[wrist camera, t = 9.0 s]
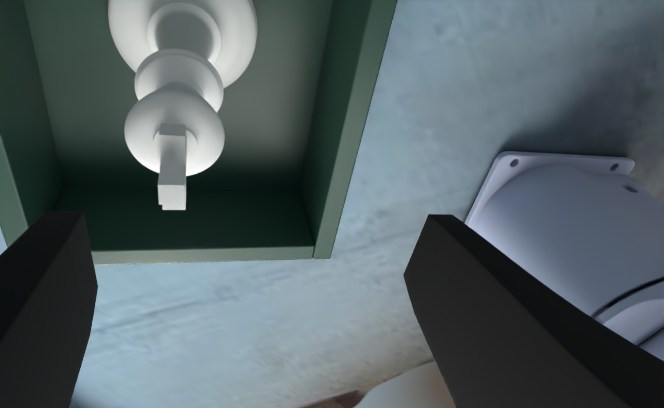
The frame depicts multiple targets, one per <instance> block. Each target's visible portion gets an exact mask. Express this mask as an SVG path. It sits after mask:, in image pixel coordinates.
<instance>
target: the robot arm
mask: <svg viewBox="0 0 664 408" xmlns="http://www.w3.org/2000/svg"><path fill="white" fill-rule="evenodd" d="M512 160H514V161H513V162H511V161H512ZM634 164H635V162H634V161H633V160H632V159H630V158H626V157H608V156H589V155H571V154H552V153H534V152H516V151H504V152H502V153H500V154H499V155H498V156H497V157H496V159H495V161H494V163H493V165H492V167H491V169H490V171H489V173H488V175H487V177H486V179H485V181H484V184H483V186H482V188H481V190H480V192H479V194H478V196H477V198H476V200H475V202H474V204H473V206H472V208H471V210H470V212H469V214H468V217H467V219H466V221H465V223H463V222H462V221H460V220H459V219H457V218H456V217H454V216H453V215H434V214H429V215H428V217H427V220H426V222H425V225H424V227H423V229H422V232H421V234H420V237H419V239H418V241H417V244H416V246H415V249H414V251H413V253H412V256H411V258H410V261H409V263H408V265H407V268H406V270H405V273H404V279H405V283H406V286H407V290H408V294H409V297H410V300H411V303H412V307H413V310H414V313H415V315H416V318H417V320H418V323H419V325H420V327H421V329H422V332H423V334H424V336H425V339H426V341H427V343H428V345H429V347H430V350H431V352H432V354H433V356H434V359H435V361H436V363H437V365H438V367H439V369H440V372H441V374H442V376H443V378H444V381H445V383H446V385H447V387H448V389H449V392H450V394H451V396H452V398H453V401H454V403H455V405H456V408H664V204H663V203H661V202H660V201H659V200H657V199H656V198H655V197H654V196H652V195H651V194H650V193H648V192H647V191H646V190H644V189H643V188H642V187H640V186H639V185H638V184H637V183H635V182H634V181H633V180H631V179H630V178H629V177H627V176H628V174H629V173H630V172H631V170H632V169H633V167H634ZM97 289H98V285H97V279H96V274H95V269H94V263H93V258H92V253H91V247H90V242H89V237H88V232H87V226H86V221H85V216H84V212H57V211H46V212H45V213H44V214H43V215H41V216H40V217H39V218H38V219H37V220H36V221H35V222H34V223H33V224H32V225H31V226H30V227H29V228H28V229H27V230H26V231H25V232H24V233H23V234H22V235H21V236H20V237H18V238H17V239H16V240H15V241H14V242H13V243H12V244H11V245H10V246H9V247H8V248H7V249H6V250H5V251H4V252H3V253H2V254H1V255H0V408H69V404H70V401H71V398H72V394H73V391H74V388H75V384H76V381H77V378H78V374H79V371H80V368H81V364H82V361H83V357H84V354H85V351H86V347H87V344H88V340H89V337H90V332H91V326H92V320H93V315H94V308H95V302H96V295H97Z"/></svg>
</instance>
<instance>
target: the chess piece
mask: <svg viewBox="0 0 664 408" xmlns="http://www.w3.org/2000/svg"><path fill="white" fill-rule="evenodd" d="M108 21H109V27H110V31H111V35H112V38H113V41H114V43H115V45H116V47H117V49H118V51H119V53H120V54H121V56H122V58H123V59H124V60H125V62H126V63H127V64H128V65H129V67H130V68H131V69H132V70H133V71H134V72H135V73H136V75H135V92H136V95H137V98H138V100H139V101H138V102H137V103H136V104H135V105H134V106H133V107H132V109H131V110H130V112H129V114H128V116H127V118H126V121H125V127H124V134H125V140H126V143H127V146H128V148H129V150H130V151H131V153H132V154H133V156H134V157H135V158H136V159H137V160H138V161H139V162H140V163H141V164H143V165H144V166H145V167H147V168H149V169H150V170H152V171H155V172H157V173H159V179H158V200H159V205H162V210H186V176H189V175H194V174H197V173H199V172H202V171H204V170H205V169H207V168H209V167H210V166H211V165H212V164H213V163H214V162H215V161H216V160H217V159H218V157H219V156H220V154H221V152H222V150H223V146H224V141H225V133H224V128H223V124H222V122H221V120H220V118H219V116H218V114H217V112H218V110H219V108H220V106H221V104H222V101H223V95H224V90H223V89H224V88H226V87H227V86H229V85H230V84H232V83H233V82H234V81H236V80H237V79H238V78H239V77H240V76H241V75H242V73H243V72H244V71H245V69H246V68H247V66H248V65H249V63H250V61H251V59H252V56H253V53H254V50H255V45H256V39H257V17H256V11H255V7H254V4H253V1H252V0H108Z"/></svg>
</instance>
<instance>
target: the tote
mask: <svg viewBox="0 0 664 408" xmlns="http://www.w3.org/2000/svg"><path fill="white" fill-rule="evenodd" d="M252 1H253V4H254V7H255V11H256V17H257V39H256V45H255V50H254V53H253V56H252V59H251V61H250V63H249V65H248V66H247V68H246V69H245V71H244V72H243V73H242V75H241V76H240V77H239V78H238V79H237V80H236V81H234V82H233V83H232V84H230V85H229V86H227V87H226V88H224V89H223V90H224V95H223V101H222V104H221V106H220V108H219V110H218V112H217V114H218V116H219V118H220V120H221V122H222V124H223V128H224V133H225V141H224V146H223V150H222V152H221V154H220V156H219V157H218V159H217V160H216V161H215V162H214V163H213V164H212V165H211V166H210V167H209V168H207V169H205V170H204V171H202V172H199V173H197V174H194V175H189V176H186V210H162V205H159V200H158V179H159V173H157V172H155V171H152V170H150V169H149V168H147V167H145V166H144V165H143V164H141V163H140V162H139V161H138V160H137V159H136V158H135V157H134V156H133V154H132V153H131V151H130V150H129V148H128V146H127V143H126V140H125V134H124V127H125V121H126V118H127V116H128V114H129V112H130V110H131V109H132V107H133V106H134V105H135V104H136V103H137V102H138V101H139V100H138V98H137V95H136V92H135V75H136V73H135V72H134V71H133V70H132V69H131V68H130V67H129V65H128V64H127V63H126V62H125V60H124V59H123V58H122V56H121V54H120V53H119V51H118V49H117V47H116V45H115V43H114V41H113V38H112V35H111V31H110V27H109V21H108V0H0V227H1V230H2V233H3V236H4V238H5V241H6V244H7V247H9V246H10V245H11V244H12V243H13V242H14V241H15V240H16V239H17V238H18V237H20V236H21V235H22V234H23V233H24V232H25V231H26V230H27V229H28V228H29V227H30V226H31V225H32V224H33V223H34V222H35V221H36V220H37V219H38V218H39V217H40V216H41V215H43V214H44V213H45V212H46V211H57V212H84V216H85V221H86V226H87V232H88V237H89V242H90V247H91V253H92V258H93V263H94V265H124V264H158V263H192V262H226V261H260V260H294V259H312V258H313V259H329V258H330V257H331V253H332V249H333V245H334V242H335V238H336V234H337V230H338V226H339V222H340V219H341V215H342V211H343V207H344V203H345V199H346V196H347V192H348V188H349V184H350V180H351V176H352V173H353V169H354V165H355V161H356V157H357V153H358V150H359V146H360V142H361V138H362V134H363V130H364V127H365V123H366V119H367V115H368V111H369V107H370V104H371V100H372V96H373V92H374V88H375V84H376V81H377V77H378V73H379V69H380V65H381V61H382V58H383V54H384V50H385V46H386V42H387V38H388V35H389V31H390V27H391V23H392V19H393V15H394V12H395V8H396V4H397V0H252Z"/></svg>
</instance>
